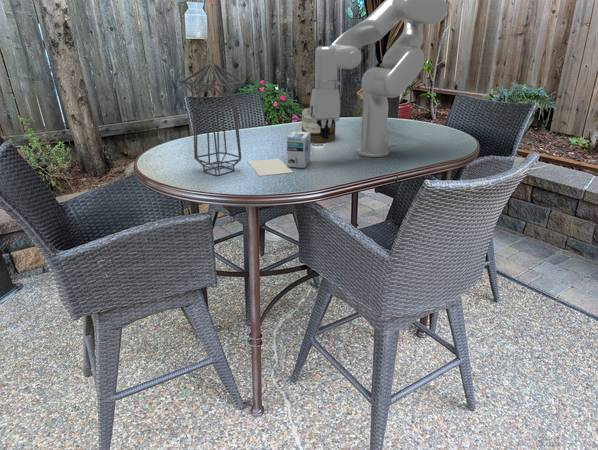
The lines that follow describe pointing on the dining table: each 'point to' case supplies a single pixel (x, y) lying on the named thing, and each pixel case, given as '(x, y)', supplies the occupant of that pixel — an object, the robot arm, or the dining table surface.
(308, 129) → the wooden container
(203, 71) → the geometric lantern
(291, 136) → the light bulb box
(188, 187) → the dining table surface
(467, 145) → the dining table surface
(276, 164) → the mat
